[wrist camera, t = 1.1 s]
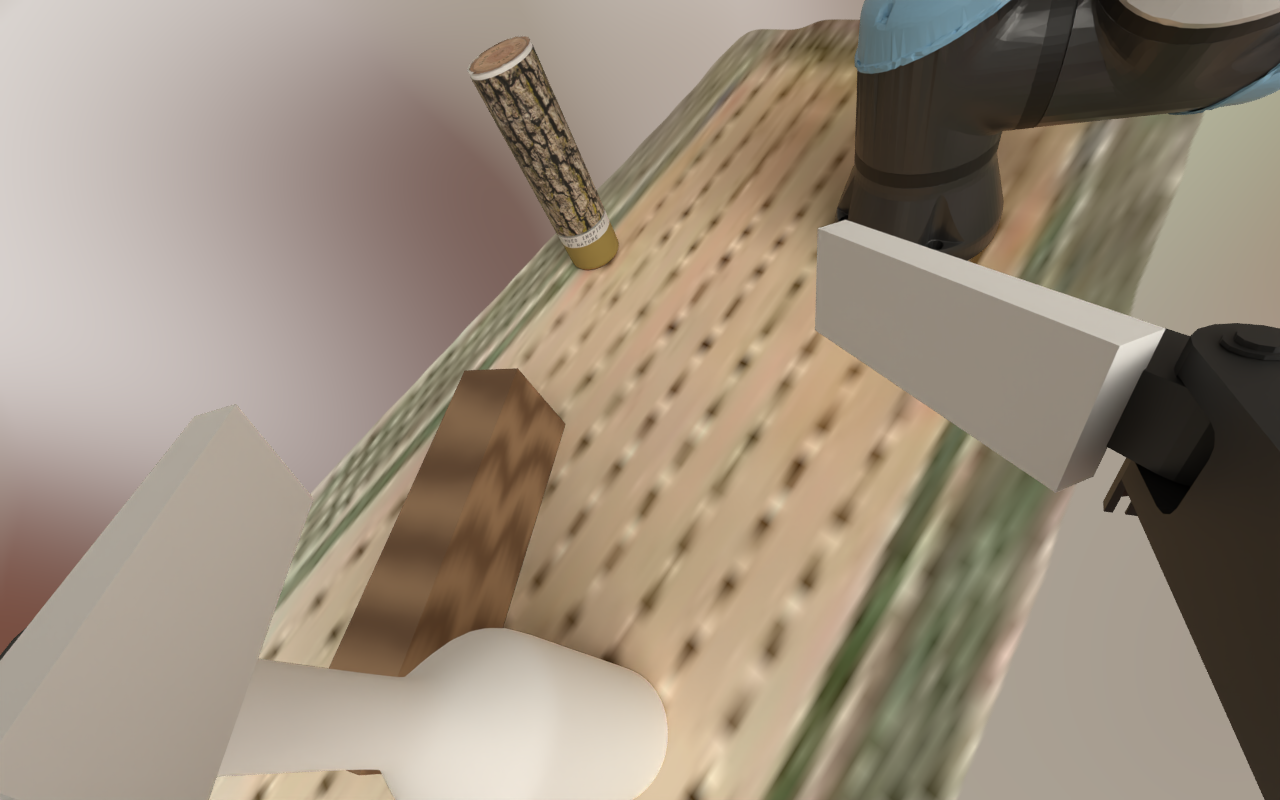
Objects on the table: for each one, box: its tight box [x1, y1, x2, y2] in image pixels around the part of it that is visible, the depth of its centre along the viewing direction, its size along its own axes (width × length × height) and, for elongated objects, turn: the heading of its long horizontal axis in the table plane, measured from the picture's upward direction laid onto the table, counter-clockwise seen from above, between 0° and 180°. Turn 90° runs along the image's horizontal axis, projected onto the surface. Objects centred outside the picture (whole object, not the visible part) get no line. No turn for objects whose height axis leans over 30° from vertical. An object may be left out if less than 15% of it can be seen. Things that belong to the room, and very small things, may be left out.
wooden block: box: [329, 369, 565, 775], centre depth 42 cm, size 30×6×10 cm, turn 169°
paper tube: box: [468, 36, 619, 270], centre depth 57 cm, size 7×7×25 cm
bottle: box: [217, 628, 668, 800], centre depth 24 cm, size 8×8×30 cm
